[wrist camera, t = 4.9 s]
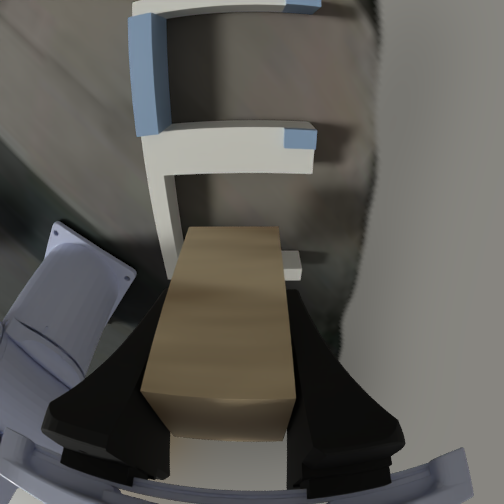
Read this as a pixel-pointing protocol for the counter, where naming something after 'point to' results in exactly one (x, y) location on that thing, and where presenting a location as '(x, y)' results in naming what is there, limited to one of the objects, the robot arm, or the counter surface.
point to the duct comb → (204, 122)
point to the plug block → (224, 339)
